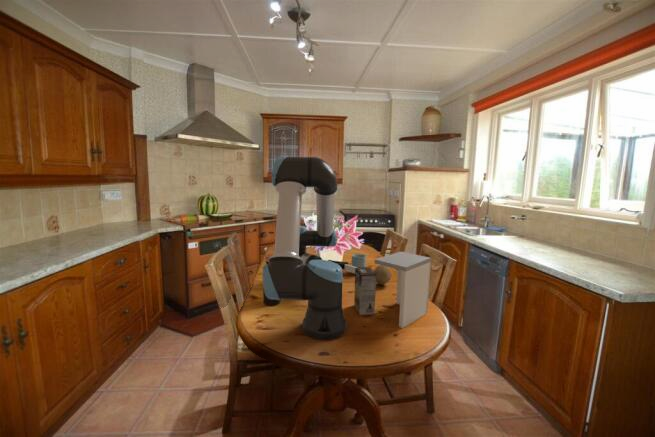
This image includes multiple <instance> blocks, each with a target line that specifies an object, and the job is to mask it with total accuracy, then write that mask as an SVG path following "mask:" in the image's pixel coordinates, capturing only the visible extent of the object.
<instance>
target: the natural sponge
mask: <svg viewBox="0 0 655 437" xmlns="http://www.w3.org/2000/svg"><path fill="white" fill-rule="evenodd" d="M373 271H374V272H375V273H376V274H377V276H376V284H378V285H380V286H384V285H386V284H387V283H389V282H390V281H391V279H392V277H393V275H392V271H391V269H390V267H387V266H383V265H379V264H378V265H377V266H376V267H375V268H374V270H373Z"/></svg>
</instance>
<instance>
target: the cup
mask: <svg viewBox="0 0 655 437" xmlns="http://www.w3.org/2000/svg"><path fill="white" fill-rule="evenodd" d="M350 265H351V266H354V267H357V268H361V267H366V266H367V255H366V254H362V253H354V254H352V255H351V264H350ZM353 274H354V275H355V273H353Z"/></svg>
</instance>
